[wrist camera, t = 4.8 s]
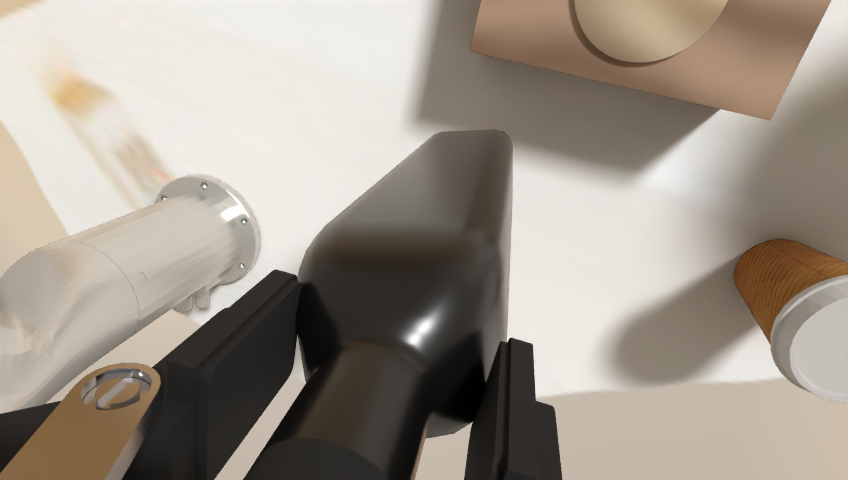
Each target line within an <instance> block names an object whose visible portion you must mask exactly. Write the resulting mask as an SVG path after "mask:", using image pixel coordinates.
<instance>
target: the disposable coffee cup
mask: <svg viewBox="0 0 848 480" xmlns="http://www.w3.org/2000/svg"><path fill="white" fill-rule="evenodd" d="M734 279H735V284H736V287H737V289H738V290H739V292H740V293H741V295H742V297H743V299H744V300H745V302H746V304H747V305H748V307H749V309H750V311H751V312H752V314H753V316H754V317H755V319H756V321H757V323H758V324H759V326H760V328H761V329H762V331H763V333H764V335H765V336H766V338H767V340H768V341H769V343H770V345H771V353H772V356H773V360H774V362H775V364H776V366H777V367H778V369H779V370H780V372H781V373H782V374H783V375H784V376H785V377H786V378H787V379H788V380H789V381H790V382H792V383H793V384H795V385H796V386H798V387H800V388H802V389H804V390H806V391H808V392H811V393H813V394H815V395H817V396H819V397H821V398H824V399H827V400H830V401H834V402H839V403H844V404H848V263H846V262H844V261H841V260H839V259H837V258H834V257H832V256H829V255H827V254H824V253H822V252H820V251H817V250H815V249H812V248H810V247H807V246H805V245H803V244H801V243H798V242H796V241H792V240H785V239H777V240H770V241H767V242H764V243H761V244H758V245H756V246H754V247H753V248H751V249H750V250H748V251H747V252H746V253H745V254H744V255H743V256H742V257H741V259H740V260H739V262H738V263H737V266H736V268H735V272H734Z"/></svg>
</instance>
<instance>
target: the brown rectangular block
mask: <svg viewBox="0 0 848 480" xmlns="http://www.w3.org/2000/svg"><path fill="white" fill-rule="evenodd" d="M830 2H831V0H481V3H480V7H479V12H478V16H477V20H476V25H475V29H474V33H473V38H472V42H471V46H470V51H471V52H475V53H479V54H484V55H488V56H492V57H497V58H501V59H505V60H510V61H514V62H518V63H523V64H527V65H532V66H536V67H540V68H545V69H549V70H553V71H558V72H562V73H566V74H571V75H575V76H579V77H584V78H588V79H592V80H597V81H601V82H605V83H610V84H614V85H618V86H623V87H627V88H632V89H636V90H640V91H645V92H649V93H653V94H658V95H662V96H666V97H671V98H675V99H679V100H684V101H688V102H692V103H697V104H701V105H705V106H710V107H714V108H718V109H723V110H727V111H732V112H736V113H740V114H745V115H749V116H753V117H758V118H762V119H766V120H771V118H772V116H773V114H774V112H775V110H776V108H777V106H778V104H779V102H780V100H781V98H782V96H783V94H784V92H785V90H786V88H787V86H788V84H789V82H790V80H791V78H792V76H793V74H794V73H795V71H796V69H797V67H798V65H799V63H800V61H801V59H802V57H803V55H804V53H805V51H806V49H807V47H808V45H809V43H810V41H811V39H812V37H813V35H814V33H815V31H816V29H817V27H818V26H819V24H820V22H821V20H822V18H823V16H824V14H825V12H826V10H827V8H828V6H829V4H830Z"/></svg>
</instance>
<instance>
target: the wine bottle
mask: <svg viewBox="0 0 848 480" xmlns="http://www.w3.org/2000/svg"><path fill="white" fill-rule="evenodd" d="M512 181H513V146H512V143H511V139H510V137H509V136H508V135H507V134H506V133H505V132H503V131H499V130H473V131H449V132H440V133H437V134H434V135H433V136H432V137H431V138H430V139H428V140H427V141H426V142H425V143H424V144H422V145H421V146H420V147H419V148H418V149H416V150H415V151H414V152H413V153H412V154H410V155H409V156H408V157H407V158H406V159H404V160H403V161H402V162H401V163H400V164H399V165H397V166H396V167H395V168H394V169H393V170H391V171H390V172H389V173H388V174H387V175H385V176H384V177H383V178H382V179H381V180H379V181H378V182H377V183H376V184H375V185H373V186H372V187H371V188H370V189H369V190H367V191H366V192H365V193H364V194H363V195H362V196H360V197H359V198H358V199H357V200H356V201H354V202H353V203H352V204H351V205H350V206H348V207H347V208H346V209H345V210H344V211H342V212H341V213H340V214H339V215H338V216H336V217H335V218H334V219H333V220H332V221H330V222H329V223H328V224H327V225H326V226H325V227H324V228H323V229H322V230H321V231H320V233H319V234H318V235H317V236H316V237H315V239H314V240H313V241H312V243H311V244H310V246H309V247H308V249H307V250H306V253H305V255H304V258H303V261H302V264H301V266H300V269H299V274H298V282H301V283H302V284H303V287H302V289H301V292H300V296H299V301H298V307H297V313H296V318H295V320H296V327H297V333H298V339H299V345H300V351H301V357H302V363H303V369H304V375H305V381H306V384H305V386H304V387H303V389H302V390H301V392H300V393H299V395H298V396H297V398H296V400H295V401H294V403H293V404H292V406H291V407H290V409H289V410H288V412H287V413H286V415H285V416H284V418H283V419H282V421H281V423H280V424H279V426H278V427H277V429H276V430H275V432H274V433H273V435H272V436H271V438H270V440H269V441H268V442H267V444H266V446H265V447H264V449H263V450H262V452H261V453H260V455H259V456H258V458H257V459H256V461H255V462H254V464H253V465H252V467H251V469H250V470H249V471H248V473H247V475H246V476H245V478H244V479H243V480H415V476H416V472H417V468H418V464H419V460H420V456H421V452H422V448H423V445H424V441H425V438H432V437H437V436H443V435H448V434H454V433H455V432H457V431H459V430H460V429H462V428H464V427H465V426H467V425H468V424H470V423H471V422H473V421H474V419H475V417H476V414H477V412H478V409H479V406H480V403H481V400H482V397H483V393H484V389H485V385H486V381H487V378H488V375H489V372H490V369H491V366H492V363H493V361H494V358H495V355H496V352H497V349H498V346H499V343H500V341H503V342H507V323H508V298H509V273H510V247H511V222H512Z"/></svg>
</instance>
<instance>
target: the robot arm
mask: <svg viewBox="0 0 848 480" xmlns="http://www.w3.org/2000/svg"><path fill="white" fill-rule="evenodd" d="M259 250H260V234H259V229H258V225H257V222H256V219H255V217H254V215H253V213H252V211H251V209H250V208H249V206H248V205H247V204H246V202H245V201H244V199H243V198H242V197H241V196H240V195H239V194H238V193H237V192H236V191H234V190H233V189H232V188H231V187H229V186H228V185H226V184H225V183H223V182H221V181H219V180H217V179H214V178H211V177H208V176H202V175H189V176H185V177H181V178H178V179H176V180H174V181H171V182H170V183H168V184H167V185H166V186H165V187H164V188H163V189H162V190H161V191H160V193H159V194H158V196H157V199H156V201H155V204H153V205H150V206H148V207H145V208H142V209H140V210H137V211H135V212H132V213H129V214H127V215H124V216H122V217H119V218H116V219H114V220H111V221H108V222H106V223H103V224H101V225H98V226H95V227H93V228H90V229H88V230H85V231H82V232H80V233H77V234H75V235H72V236H69V237H67V238H64V239H61V240H59V241H56V242H53V243H50V244H48V245H45V246H43V247H40V248H38V249H36V250H34V251H31V252H30V253H28V254H27V255H25V256H23V257H22V258H21V259H19V260H18V261H17V262H16V263H14V264H13V265H12V266H11V267H10V268H9V269H8V270H7V271H6V272H5V274H4V275H3V276H2V277H1V278H0V480H214V479H215V478H216V476H217V474H218V473H219V472H220V471H221V469H222V468H223V467H224V465H225V464H226V462H227V461H228V460H229V458H230V457H231V456H232V454H233V453H234V452H235V450H236V449H237V447H238V446H239V445H240V443H241V442H242V440H243V439H244V438H245V436H246V435H247V434H248V432H249V431H250V430H251V428H252V427H253V426H254V424H255V423H256V422H257V420H258V418H259V417H260V416H261V415H262V413H263V412H264V410H265V409H266V408H267V407H268V405H269V404H270V402H271V401H272V400H273V398H274V397H275V396H276V394H277V393H278V391H279V390H280V389H281V387H282V386H283V385H284V383H285V382H286V381H287V379H288V378H289V376H290V374H291V372H292V369H293V365H294V357H295V349H296V341H297V327H296V320H295V318H296V313H297V307H298V301H299V296H300V292H301V289H302V287H303V284H302V283H301V282H298V279H297V276H296V275H294V274H290V273H287V272H283V271H280V270H273V271H272V272H271V273H269V274H268V275H267V276H266V277H265V278H264V279H262V280H261V281H260V282H259V283H258V284H256V285H255V286H254V287H253V288H252V289H250V290H249V291H248V292H247V293H246V294H245V295H243V296H242V297H241V298H240V299H239V300H237V301H236V302H235V303H234V304H233V305H231V306H230V307H229V308H224V309H223V310H221V311H220V312H218V313H217V314H216V315H215V316H214V317H212V318H211V319H210V320H209V321H208V322H206V323H205V324H204V325H203V326H202V327H200V328H199V329H198V330H197V331H196V332H194V333H193V334H192V335H191V336H190V337H188V338H187V339H186V340H185V341H184V342H182V343H181V344H180V345H179V346H177V347H176V348H175V349H174V350H173V351H171V352H170V353H169V354H168V355H167V356H165V357H164V358H163V359H162V360H161V361H160V362H158V363H157V364H156V365H155V366H153V367H152V368H151V367H149V366H147V365H143V364H138V363H120V364H115V365H109V366H106V367H103V368H100V369H98V370H95V371H94V372H92V373H90V374H88V375H86V376H85V377H84V378H82V379H81V380H80V381H79V382H78V383H77V384H76V385H75V386H74V387H73V388H72V390H71V391H70V392H69V393H68V394H67V395H66V397H65V398H64V399H63V400H62V401H59V402H53V403H49V404H45V403H47V402H48V401H49V400H50V399H51V398H52V397H53V396H54V395H55V394H56V393H57V392H59V391H60V390H61V389H62V388H63V387H64V386H66V385H67V384H68V383H69V382H70V381H71V380H73V379H74V378H75V377H76V376H78V375H79V374H80V373H81V372H83V371H84V370H85V369H87V368H88V367H89V366H90V365H92V364H93V363H95V362H96V361H97V360H99V359H100V358H102V357H103V356H104V355H106V354H107V353H109V352H110V351H111V350H113V349H114V348H116V347H117V346H118V345H119V344H121V343H123V342H124V341H126V340H127V339H128V338H130V337H131V336H133V335H134V334H136V333H137V332H138V331H140V330H141V329H143V328H144V327H146V326H147V325H148V324H150V323H151V322H153V321H154V320H156V319H157V318H158V317H160V316H161V315H163V314H164V313H166V312H167V311H169V310H170V309H172V308H173V307H174V310H175V311H178V312H186V311H189V310H191V309H192V294H193V293H194V292H196V291H197V295H196V306H197V307H198V308H206V307H208V306H209V304H210V295H209V290H210V289H211V288H212V287H214V286H215V285H216V284H225V283H229V282H233V281H235V280H237V279H239V278H241V277H242V276H243V275H245V274H246V273H247V272H248V271H249V270H250V269H251V268H252V267H253V265H254V264H255V262H256V260H257V258H258V254H259ZM464 480H562V473H561V463H560V454H559V445H558V435H557V425H556V417H555V410H554V407H553V406H551V405H548V404H544V403H541V402H538V401H536V398H535V379H534V359H533V345H532V344H531V343H527V342H524V341H521V340H517V339H514V338H510V339H509V341H508V343H507V342H503V341H500V343H499V346H498V349H497V352H496V355H495V358H494V361H493V363H492V366H491V369H490V372H489V375H488V378H487V381H486V385H485V389H484V393H483V397H482V400H481V403H480V406H479V409H478V412H477V414H476V417H475V419H474V421H473V424H472V427H471V432H470V438H469V446H468V454H467V461H466V469H465V477H464Z"/></svg>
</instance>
